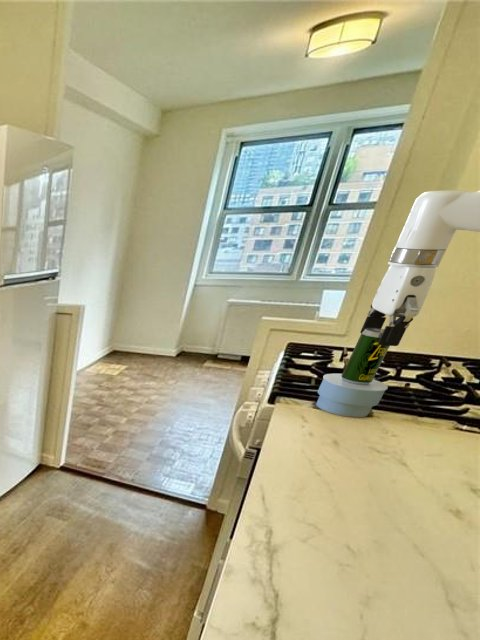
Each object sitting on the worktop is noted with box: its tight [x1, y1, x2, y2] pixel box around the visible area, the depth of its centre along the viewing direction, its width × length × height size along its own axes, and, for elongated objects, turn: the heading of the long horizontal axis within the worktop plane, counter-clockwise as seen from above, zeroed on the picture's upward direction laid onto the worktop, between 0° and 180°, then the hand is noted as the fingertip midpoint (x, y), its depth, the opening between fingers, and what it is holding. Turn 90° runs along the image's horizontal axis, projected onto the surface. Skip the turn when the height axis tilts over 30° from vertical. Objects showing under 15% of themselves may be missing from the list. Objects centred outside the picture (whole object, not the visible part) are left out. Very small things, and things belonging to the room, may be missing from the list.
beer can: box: [341, 328, 391, 385], centre depth 110 cm, size 5×5×12 cm
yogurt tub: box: [315, 373, 389, 418], centre depth 114 cm, size 11×11×7 cm
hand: (377, 339), depth 108 cm, fingers open, 9 cm apart
